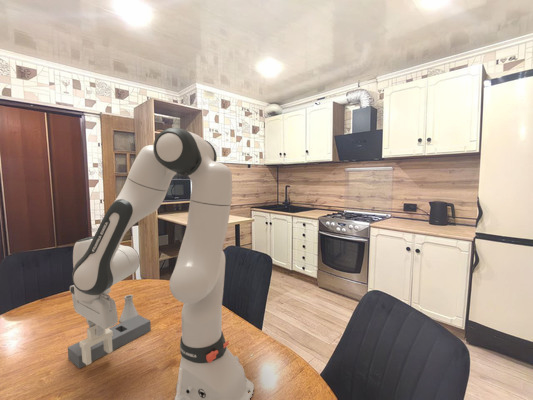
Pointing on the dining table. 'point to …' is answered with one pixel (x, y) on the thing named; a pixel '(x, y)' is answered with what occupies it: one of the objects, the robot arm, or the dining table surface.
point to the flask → (128, 309)
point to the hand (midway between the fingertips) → (96, 332)
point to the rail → (120, 337)
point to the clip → (93, 340)
